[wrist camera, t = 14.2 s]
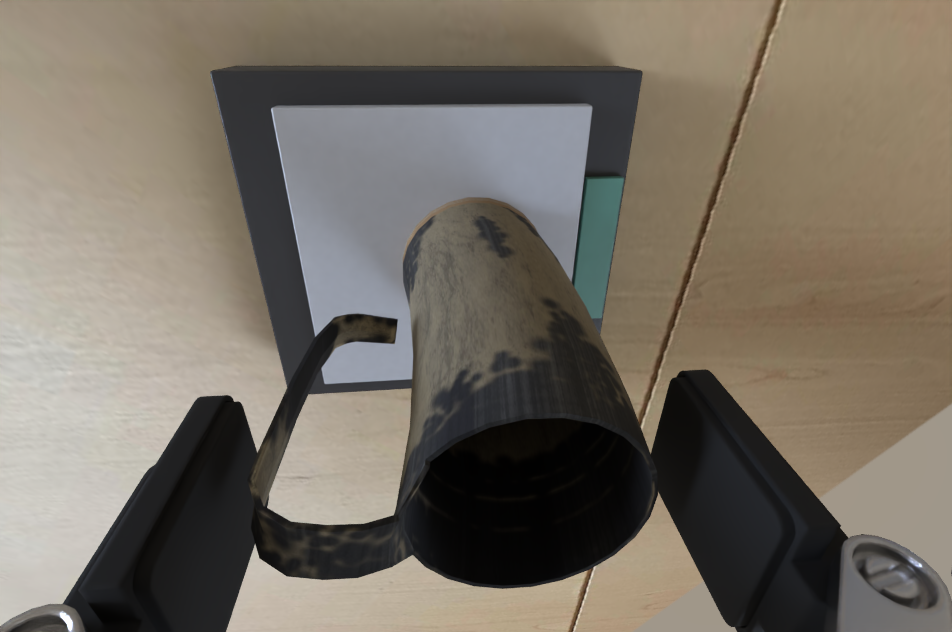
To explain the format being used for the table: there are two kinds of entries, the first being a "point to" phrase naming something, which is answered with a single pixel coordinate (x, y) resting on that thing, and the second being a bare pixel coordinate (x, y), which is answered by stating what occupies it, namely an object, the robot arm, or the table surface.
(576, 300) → the mug
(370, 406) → the table surface
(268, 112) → the scale
